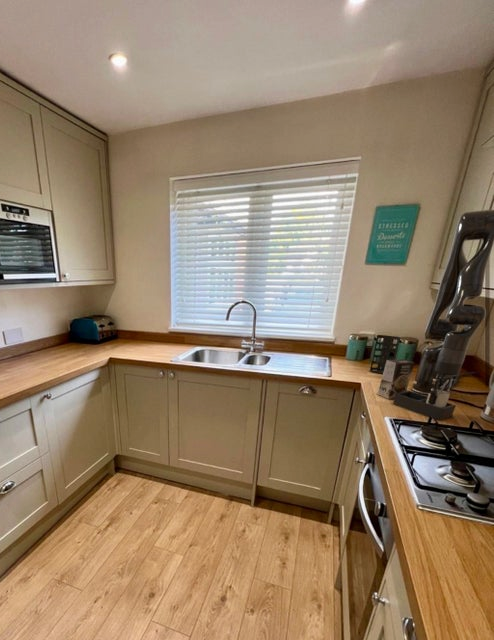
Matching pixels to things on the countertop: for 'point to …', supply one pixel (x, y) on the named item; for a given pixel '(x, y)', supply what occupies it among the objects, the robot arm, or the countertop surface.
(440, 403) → the cup
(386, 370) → the coffee box
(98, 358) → the countertop surface
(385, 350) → the holder
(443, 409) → the cup holder
